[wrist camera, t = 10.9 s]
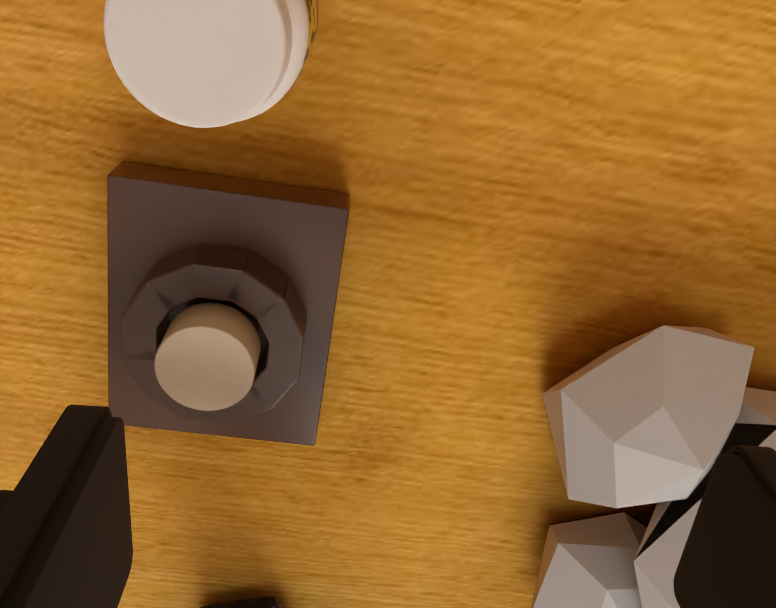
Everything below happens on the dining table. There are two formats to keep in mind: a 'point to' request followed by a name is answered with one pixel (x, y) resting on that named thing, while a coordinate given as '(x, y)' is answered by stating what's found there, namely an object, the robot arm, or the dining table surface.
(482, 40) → the dining table surface
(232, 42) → the supplement bottle
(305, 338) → the lamp base
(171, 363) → the button
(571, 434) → the rock
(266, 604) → the blue zipper case
